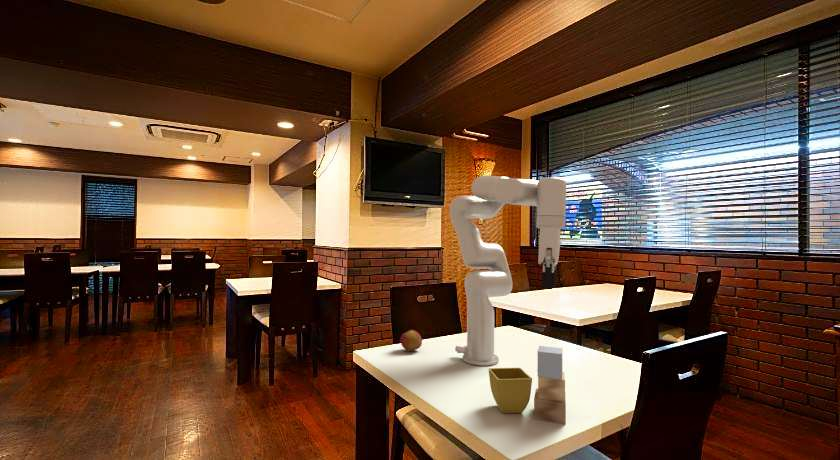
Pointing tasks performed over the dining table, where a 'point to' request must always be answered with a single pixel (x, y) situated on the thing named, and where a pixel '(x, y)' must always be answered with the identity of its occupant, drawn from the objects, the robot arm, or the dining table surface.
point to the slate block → (550, 362)
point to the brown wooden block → (549, 410)
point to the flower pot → (510, 388)
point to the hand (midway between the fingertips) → (549, 285)
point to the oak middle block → (551, 389)
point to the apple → (411, 340)
